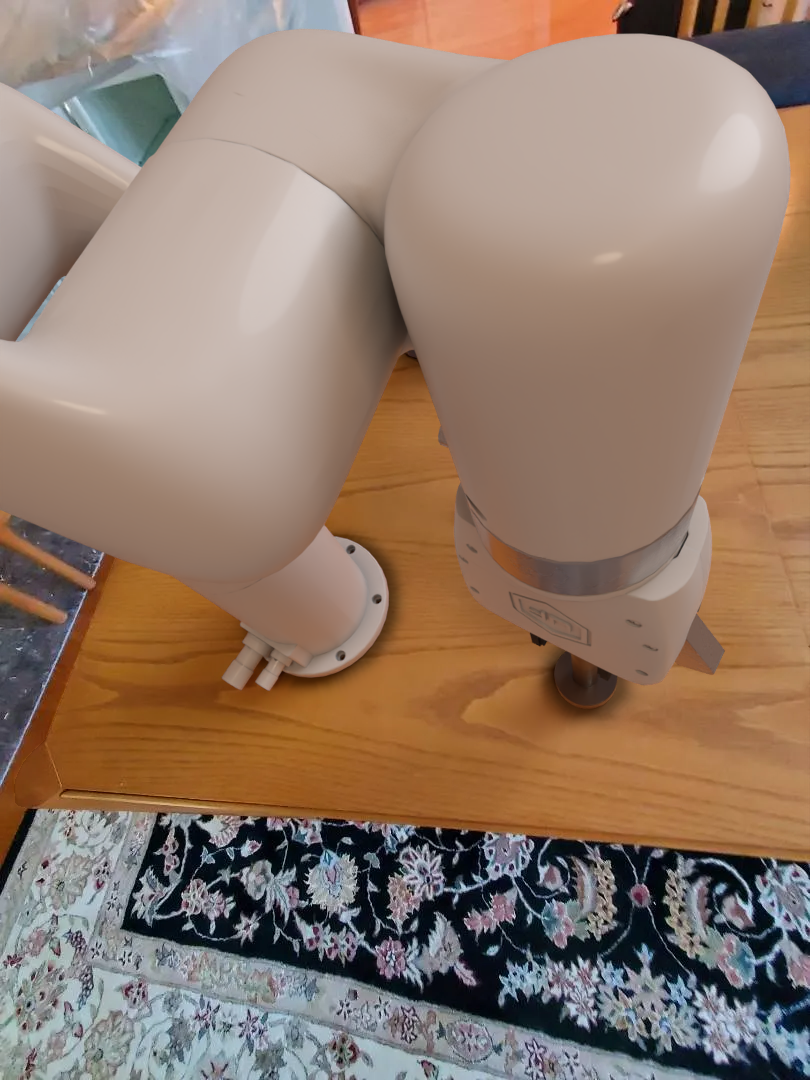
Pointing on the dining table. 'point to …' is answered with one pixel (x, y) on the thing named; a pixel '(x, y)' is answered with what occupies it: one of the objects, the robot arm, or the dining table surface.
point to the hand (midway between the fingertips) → (581, 638)
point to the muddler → (582, 682)
